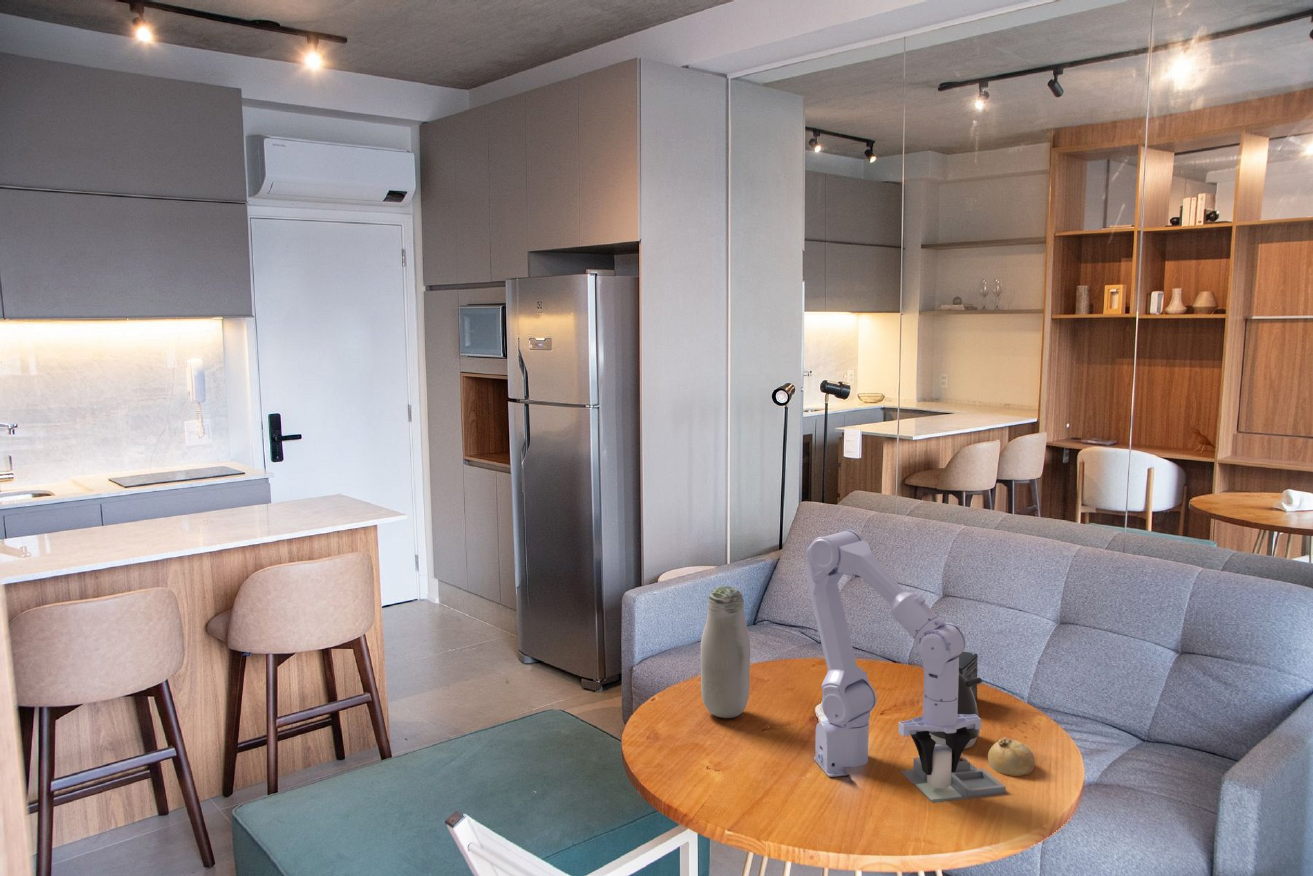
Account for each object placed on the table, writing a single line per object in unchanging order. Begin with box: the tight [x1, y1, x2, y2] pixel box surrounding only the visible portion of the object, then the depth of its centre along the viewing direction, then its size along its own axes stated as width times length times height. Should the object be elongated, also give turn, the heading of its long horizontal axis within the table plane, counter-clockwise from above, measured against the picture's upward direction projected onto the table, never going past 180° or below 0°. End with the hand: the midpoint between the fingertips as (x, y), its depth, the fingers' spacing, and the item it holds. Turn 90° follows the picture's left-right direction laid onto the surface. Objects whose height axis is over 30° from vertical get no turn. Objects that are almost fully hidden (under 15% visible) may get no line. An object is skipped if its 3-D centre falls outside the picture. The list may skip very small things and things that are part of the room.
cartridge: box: [927, 744, 952, 788], centre depth 162 cm, size 4×4×6 cm
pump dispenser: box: [930, 673, 983, 750], centre depth 183 cm, size 10×10×15 cm
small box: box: [955, 651, 979, 701], centre depth 205 cm, size 11×6×10 cm, turn 144°
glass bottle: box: [700, 585, 751, 719], centre depth 199 cm, size 10×10×28 cm
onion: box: [987, 736, 1036, 777], centre depth 172 cm, size 8×8×7 cm
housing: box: [899, 756, 1008, 804], centre depth 166 cm, size 14×12×4 cm
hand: (938, 771), depth 163 cm, fingers closed on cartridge, 4 cm apart
